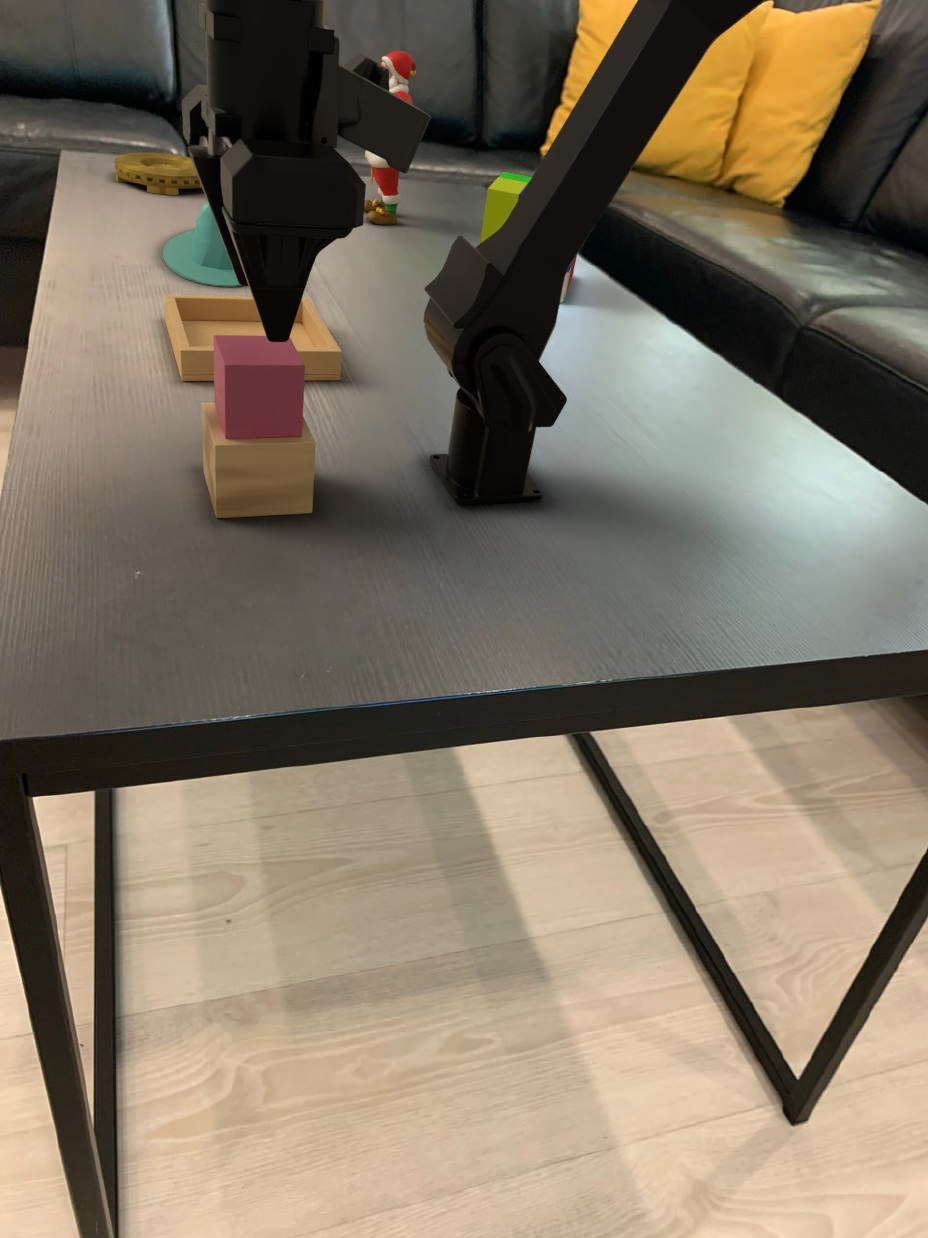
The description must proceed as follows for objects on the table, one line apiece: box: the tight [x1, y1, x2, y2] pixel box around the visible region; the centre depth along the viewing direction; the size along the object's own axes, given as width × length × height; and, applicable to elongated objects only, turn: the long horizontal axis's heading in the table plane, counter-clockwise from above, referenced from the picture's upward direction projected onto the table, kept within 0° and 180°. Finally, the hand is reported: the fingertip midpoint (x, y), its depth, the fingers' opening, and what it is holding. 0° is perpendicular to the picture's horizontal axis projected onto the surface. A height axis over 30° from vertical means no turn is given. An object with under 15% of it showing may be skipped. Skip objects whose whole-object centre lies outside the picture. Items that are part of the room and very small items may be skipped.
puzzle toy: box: [479, 171, 578, 304], centre depth 104 cm, size 10×10×10 cm
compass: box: [114, 152, 203, 196], centre depth 119 cm, size 12×12×2 cm
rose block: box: [213, 335, 305, 439], centre depth 56 cm, size 5×5×5 cm
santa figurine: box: [364, 50, 417, 226], centre depth 116 cm, size 25×6×19 cm, turn 12°
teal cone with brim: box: [162, 202, 243, 288], centre depth 97 cm, size 12×20×9 cm, turn 7°
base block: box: [201, 401, 317, 519], centre depth 59 cm, size 6×6×5 cm
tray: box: [163, 293, 343, 382], centre depth 79 cm, size 13×13×2 cm
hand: (261, 311), depth 54 cm, fingers open, 9 cm apart
